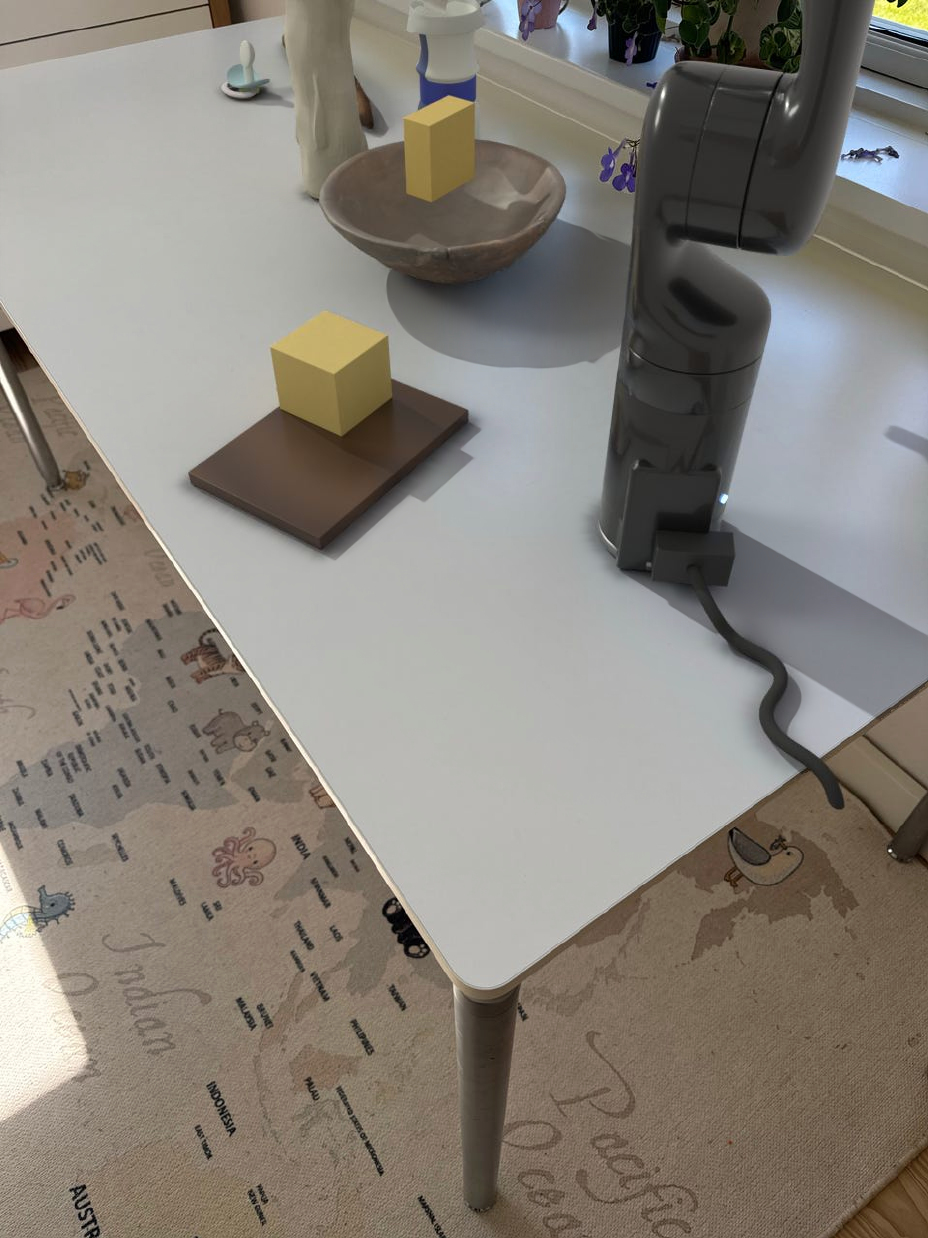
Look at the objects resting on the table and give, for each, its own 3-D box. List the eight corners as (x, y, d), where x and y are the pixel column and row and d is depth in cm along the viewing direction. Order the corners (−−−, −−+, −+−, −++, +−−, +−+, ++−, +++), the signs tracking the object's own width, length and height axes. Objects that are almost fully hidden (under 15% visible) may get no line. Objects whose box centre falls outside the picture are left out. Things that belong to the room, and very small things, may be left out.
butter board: (345, 369, 94) (344, 358, 93) (468, 420, 88) (468, 409, 87) (190, 483, 82) (187, 472, 82) (321, 550, 77) (319, 538, 76)
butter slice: (449, 169, 103) (448, 94, 98) (474, 177, 102) (475, 102, 96) (406, 193, 99) (403, 117, 94) (431, 202, 98) (429, 125, 93)
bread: (268, 44, 153) (263, 7, 149) (299, 40, 154) (295, 3, 151) (355, 137, 129) (351, 96, 126) (391, 131, 131) (389, 90, 127)
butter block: (331, 371, 91) (324, 309, 87) (392, 397, 89) (388, 334, 84) (279, 408, 87) (269, 346, 83) (341, 436, 85) (334, 373, 80)
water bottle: (401, 180, 121) (389, -65, 102) (466, 168, 123) (466, -74, 105) (426, 209, 116) (418, -44, 97) (494, 195, 118) (499, -54, 100)
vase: (351, 168, 123) (326, -132, 101) (385, 194, 118) (367, -115, 96) (288, 185, 120) (247, -121, 98) (320, 213, 115) (286, -103, 93)
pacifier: (237, 105, 137) (276, 94, 139) (228, 56, 132) (268, 45, 135) (214, 89, 141) (252, 78, 143) (204, 40, 136) (243, 30, 139)
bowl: (496, 193, 118) (498, 117, 112) (605, 292, 103) (614, 210, 97) (295, 237, 111) (285, 158, 105) (380, 349, 96) (374, 266, 90)
